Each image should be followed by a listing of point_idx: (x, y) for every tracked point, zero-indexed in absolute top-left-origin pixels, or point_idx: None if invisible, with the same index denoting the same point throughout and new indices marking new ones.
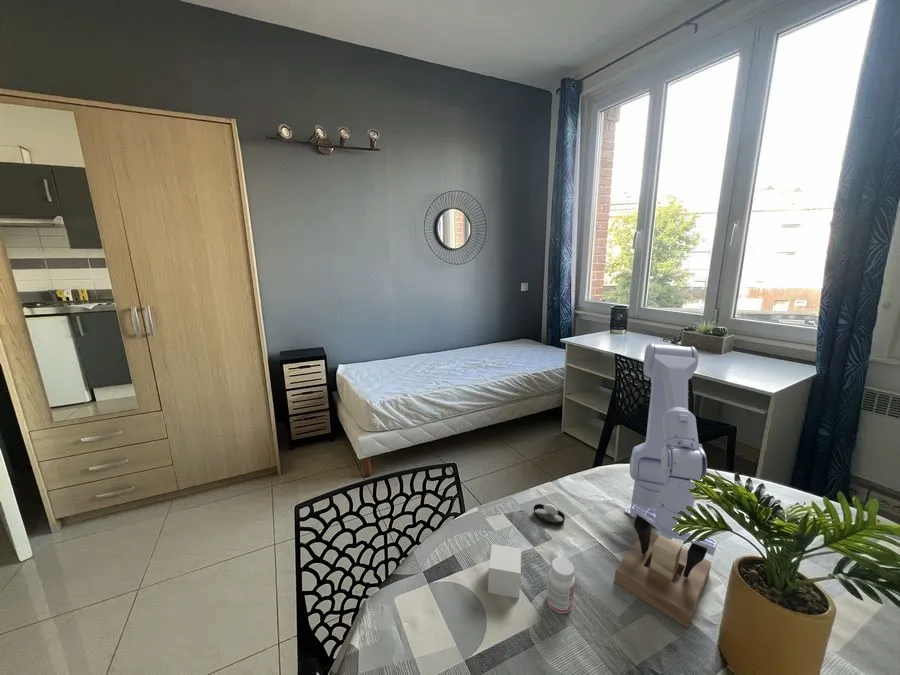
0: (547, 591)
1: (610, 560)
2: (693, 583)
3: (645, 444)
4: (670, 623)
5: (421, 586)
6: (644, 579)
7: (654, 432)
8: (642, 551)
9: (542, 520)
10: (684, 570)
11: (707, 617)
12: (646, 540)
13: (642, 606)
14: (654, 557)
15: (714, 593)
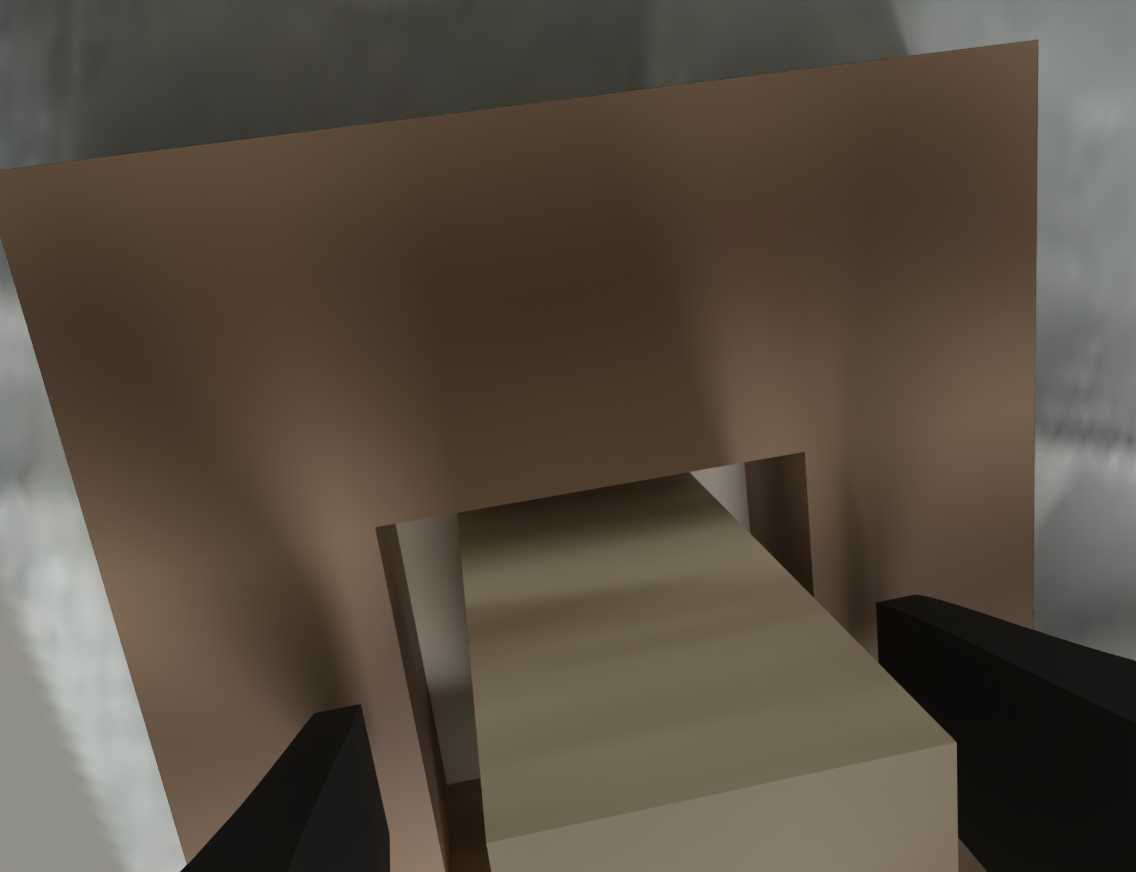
0: None
1: (1064, 338)
2: (248, 730)
3: None
4: (231, 71)
5: None
6: (693, 227)
7: None
8: (935, 601)
9: None
10: (336, 755)
11: (37, 516)
12: (1046, 760)
13: (546, 20)
14: (772, 607)
15: (158, 864)
